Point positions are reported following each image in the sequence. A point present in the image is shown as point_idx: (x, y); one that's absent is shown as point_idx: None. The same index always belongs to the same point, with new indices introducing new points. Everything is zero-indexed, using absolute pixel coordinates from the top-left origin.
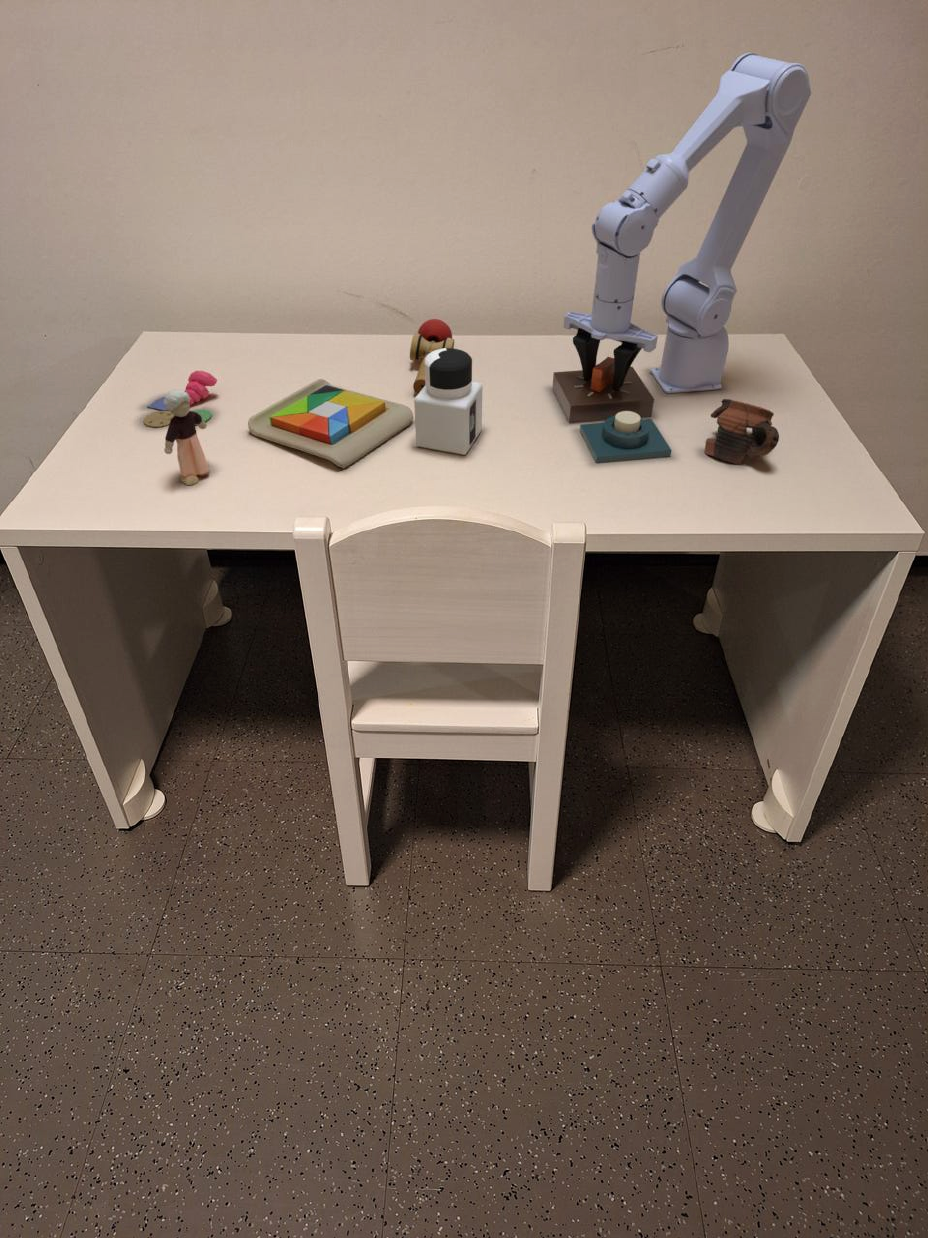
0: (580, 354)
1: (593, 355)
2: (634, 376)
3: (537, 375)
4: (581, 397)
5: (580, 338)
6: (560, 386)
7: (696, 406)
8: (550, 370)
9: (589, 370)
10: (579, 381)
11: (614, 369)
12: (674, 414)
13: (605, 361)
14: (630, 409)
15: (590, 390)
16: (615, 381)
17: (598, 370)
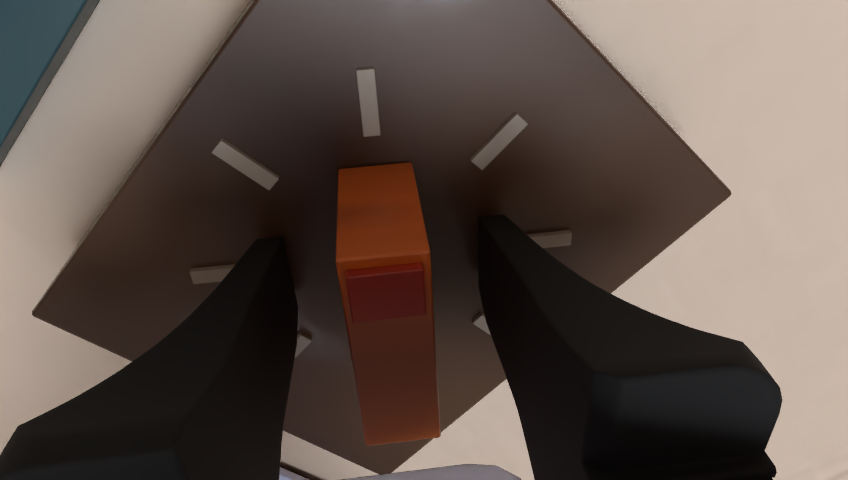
0: (603, 304)
1: (522, 379)
2: (310, 422)
3: (802, 211)
4: (395, 20)
5: (693, 423)
6: (614, 67)
7: None
8: (755, 285)
9: (495, 274)
10: (532, 202)
11: (242, 318)
12: (27, 332)
13: (412, 380)
14: (122, 183)
15: (405, 151)
16: (245, 267)
17: (372, 251)
